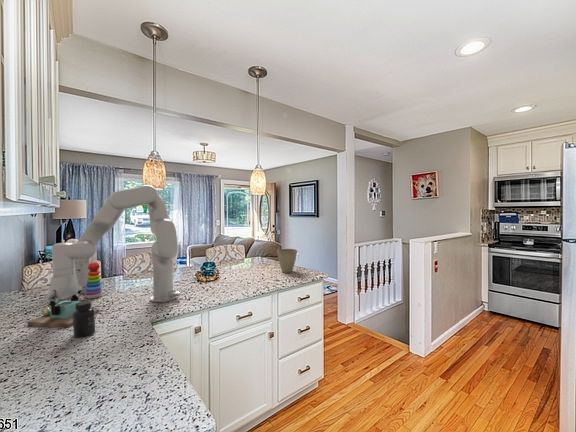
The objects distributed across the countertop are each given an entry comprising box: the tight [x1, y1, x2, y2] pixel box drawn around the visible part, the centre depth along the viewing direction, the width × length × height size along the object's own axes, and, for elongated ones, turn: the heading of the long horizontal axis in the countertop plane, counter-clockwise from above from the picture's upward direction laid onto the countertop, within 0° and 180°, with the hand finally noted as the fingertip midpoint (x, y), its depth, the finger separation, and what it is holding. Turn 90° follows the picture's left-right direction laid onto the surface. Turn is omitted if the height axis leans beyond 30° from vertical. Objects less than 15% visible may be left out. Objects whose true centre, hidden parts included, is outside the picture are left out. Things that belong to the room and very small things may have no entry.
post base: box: [27, 304, 100, 328], centre depth 121 cm, size 18×16×6 cm
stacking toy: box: [84, 262, 103, 300], centre depth 149 cm, size 8×8×19 cm
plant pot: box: [276, 248, 298, 273], centre depth 207 cm, size 15×15×16 cm
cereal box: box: [75, 250, 98, 294], centre depth 165 cm, size 22×8×25 cm, turn 25°
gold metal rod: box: [44, 306, 50, 317], centre depth 119 cm, size 1×1×4 cm
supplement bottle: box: [72, 300, 96, 338], centre depth 106 cm, size 7×7×12 cm
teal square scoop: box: [42, 300, 81, 318], centre depth 121 cm, size 13×7×5 cm, turn 86°
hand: (65, 310), depth 121 cm, fingers open, 9 cm apart
